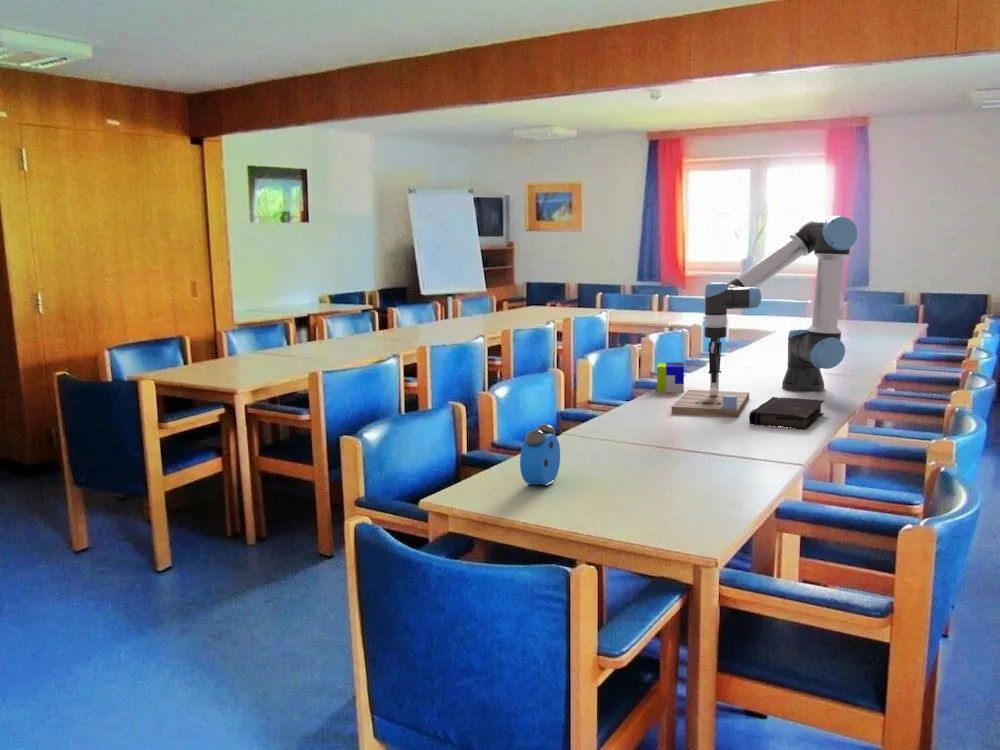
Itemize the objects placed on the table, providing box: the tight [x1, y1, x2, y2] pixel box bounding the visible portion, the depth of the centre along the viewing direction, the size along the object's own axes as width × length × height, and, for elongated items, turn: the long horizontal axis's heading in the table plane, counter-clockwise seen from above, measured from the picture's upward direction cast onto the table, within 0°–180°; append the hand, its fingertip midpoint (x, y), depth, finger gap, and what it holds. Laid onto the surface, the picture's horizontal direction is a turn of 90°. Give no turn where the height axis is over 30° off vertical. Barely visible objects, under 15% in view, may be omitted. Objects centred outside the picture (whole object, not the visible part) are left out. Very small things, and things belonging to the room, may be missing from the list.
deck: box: [671, 389, 750, 418], centre depth 290 cm, size 30×22×2 cm
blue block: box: [723, 395, 737, 409], centre depth 275 cm, size 4×4×4 cm
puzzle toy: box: [656, 362, 685, 393], centre depth 320 cm, size 10×10×10 cm
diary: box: [748, 396, 826, 430], centre depth 267 cm, size 19×25×5 cm
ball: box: [708, 387, 718, 396], centre depth 294 cm, size 3×3×3 cm
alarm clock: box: [519, 423, 561, 486], centre depth 208 cm, size 13×6×15 cm, turn 154°
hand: (714, 390), depth 296 cm, fingers closed
